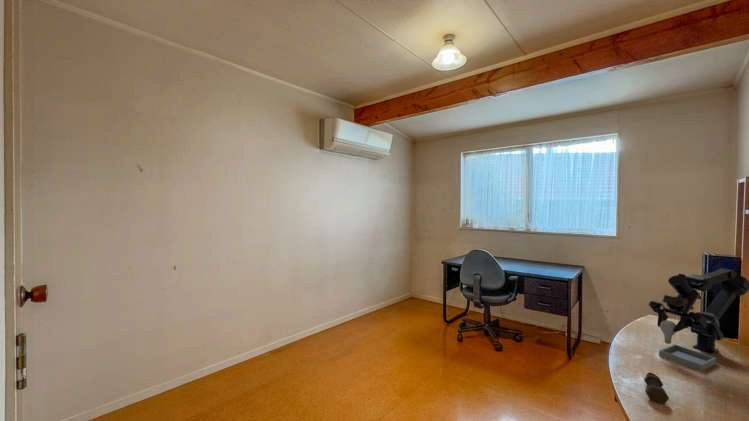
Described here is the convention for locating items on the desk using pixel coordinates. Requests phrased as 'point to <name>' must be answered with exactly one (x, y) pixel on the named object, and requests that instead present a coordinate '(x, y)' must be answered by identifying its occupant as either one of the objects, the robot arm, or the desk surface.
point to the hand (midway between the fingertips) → (666, 328)
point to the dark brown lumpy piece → (655, 389)
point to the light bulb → (667, 330)
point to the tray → (687, 357)
